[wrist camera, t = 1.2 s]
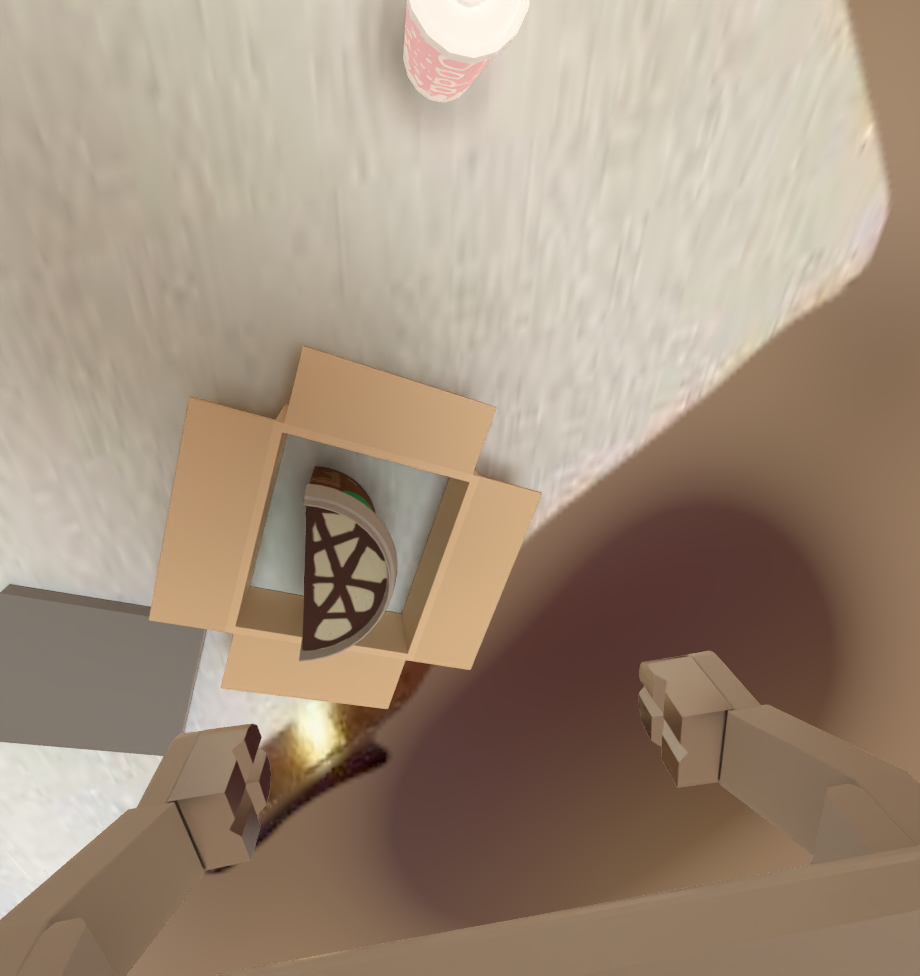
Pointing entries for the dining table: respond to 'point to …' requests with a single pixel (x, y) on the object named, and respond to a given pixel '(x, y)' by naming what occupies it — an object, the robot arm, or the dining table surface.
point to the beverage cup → (456, 41)
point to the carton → (244, 507)
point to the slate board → (92, 673)
